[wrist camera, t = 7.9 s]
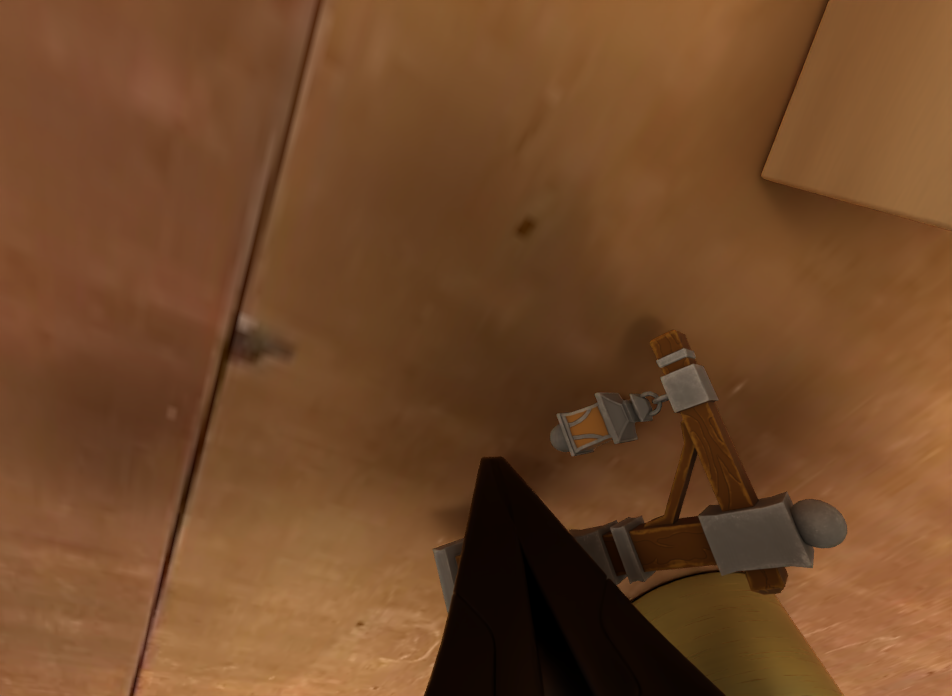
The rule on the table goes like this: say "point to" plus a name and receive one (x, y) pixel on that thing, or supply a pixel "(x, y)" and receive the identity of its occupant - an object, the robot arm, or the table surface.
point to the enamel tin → (737, 637)
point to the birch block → (874, 110)
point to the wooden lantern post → (693, 538)
